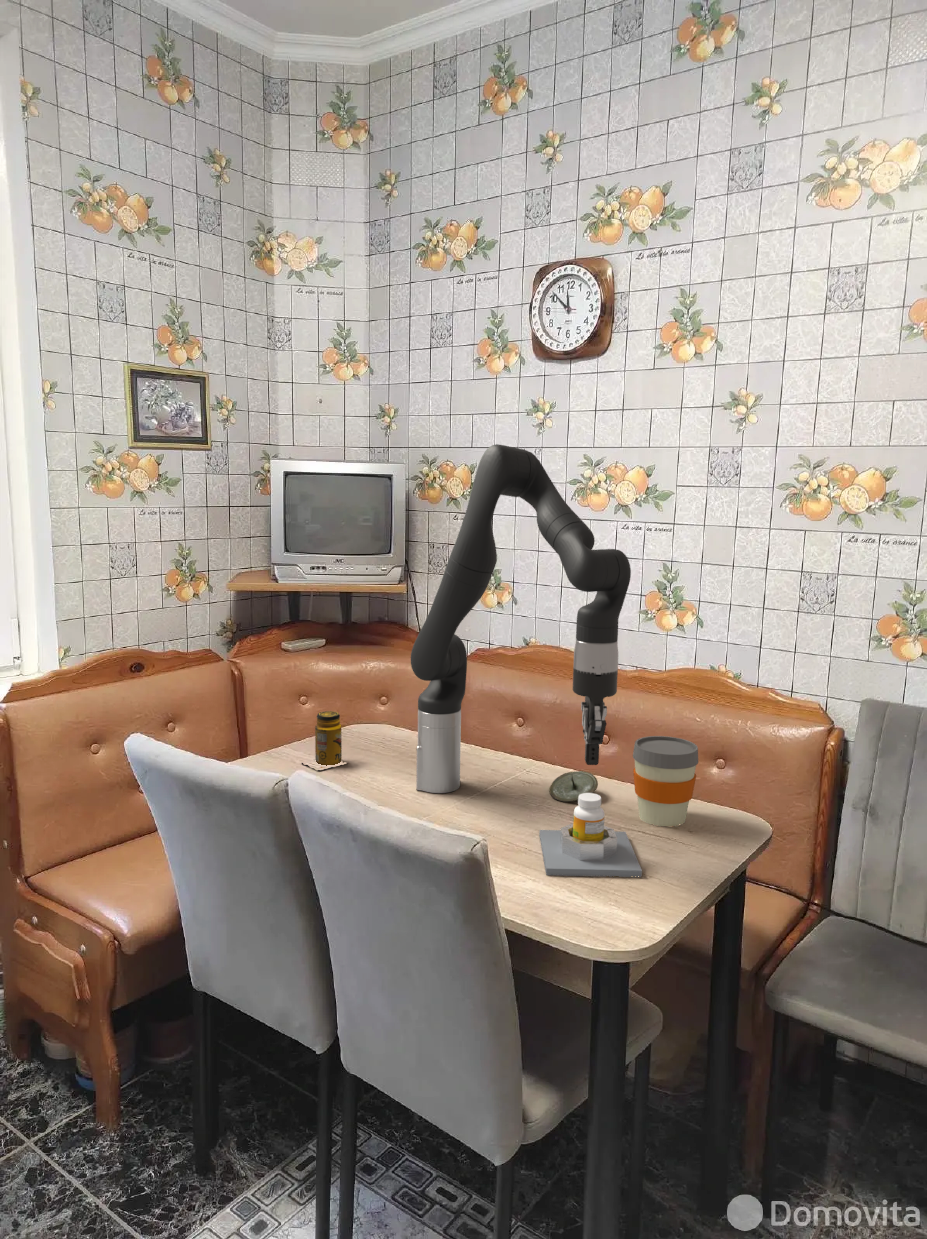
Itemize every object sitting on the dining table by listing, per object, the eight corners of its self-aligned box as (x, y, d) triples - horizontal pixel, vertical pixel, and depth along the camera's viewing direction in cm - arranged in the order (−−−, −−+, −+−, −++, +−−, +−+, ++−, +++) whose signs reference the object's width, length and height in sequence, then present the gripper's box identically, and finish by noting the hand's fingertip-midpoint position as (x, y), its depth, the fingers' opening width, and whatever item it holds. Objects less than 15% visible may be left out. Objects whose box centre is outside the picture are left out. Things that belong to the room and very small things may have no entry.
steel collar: (563, 860, 144) (564, 843, 144) (558, 837, 153) (559, 821, 153) (619, 861, 144) (620, 844, 143) (610, 838, 153) (611, 822, 153)
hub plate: (546, 875, 141) (546, 868, 141) (539, 835, 157) (539, 829, 157) (641, 877, 141) (642, 870, 141) (625, 837, 157) (625, 831, 156)
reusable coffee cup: (617, 811, 170) (620, 739, 167) (668, 802, 175) (672, 732, 172) (654, 834, 158) (658, 758, 156) (708, 825, 163) (713, 750, 161)
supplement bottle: (569, 842, 151) (571, 791, 150) (598, 842, 152) (600, 790, 150) (576, 856, 146) (578, 802, 144) (606, 855, 146) (608, 802, 145)
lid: (607, 797, 177) (608, 774, 176) (576, 808, 171) (577, 785, 170) (569, 783, 185) (570, 761, 184) (538, 794, 178) (539, 771, 178)
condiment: (349, 764, 195) (349, 714, 194) (318, 772, 190) (318, 720, 188) (331, 756, 201) (330, 707, 199) (300, 764, 195) (300, 714, 193)
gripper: (569, 657, 150) (566, 751, 153) (578, 674, 137) (574, 776, 140) (611, 658, 150) (607, 752, 153) (624, 675, 137) (619, 777, 140)
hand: (591, 763), depth 146 cm, fingers closed
